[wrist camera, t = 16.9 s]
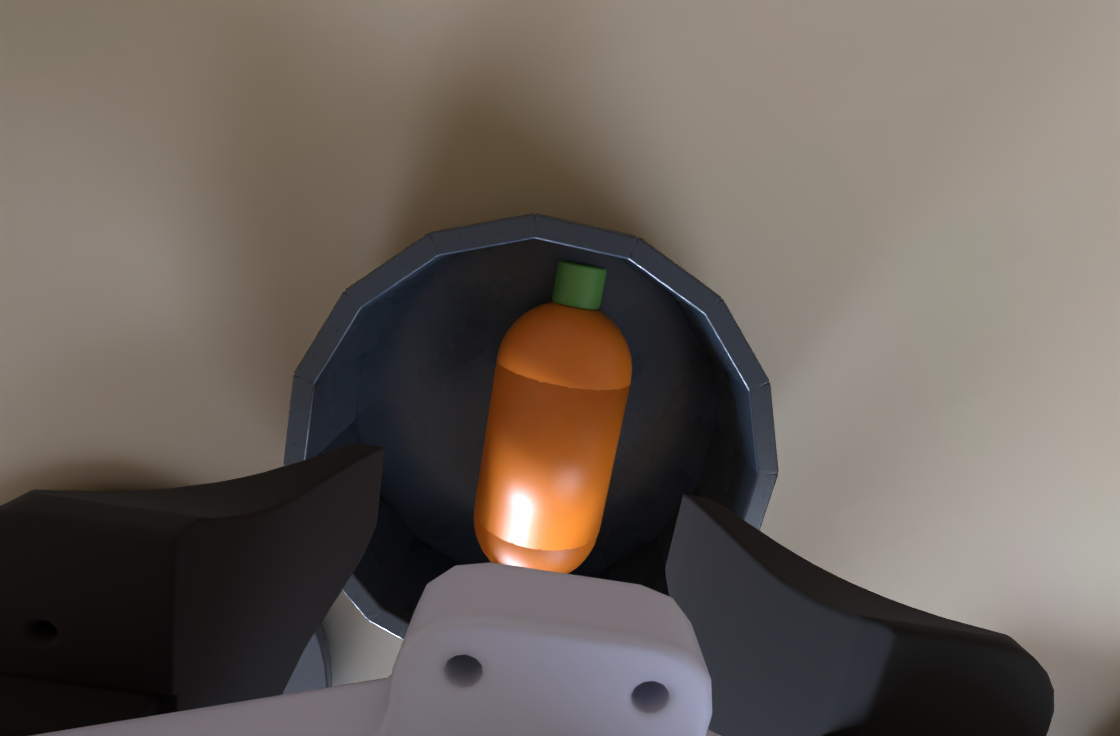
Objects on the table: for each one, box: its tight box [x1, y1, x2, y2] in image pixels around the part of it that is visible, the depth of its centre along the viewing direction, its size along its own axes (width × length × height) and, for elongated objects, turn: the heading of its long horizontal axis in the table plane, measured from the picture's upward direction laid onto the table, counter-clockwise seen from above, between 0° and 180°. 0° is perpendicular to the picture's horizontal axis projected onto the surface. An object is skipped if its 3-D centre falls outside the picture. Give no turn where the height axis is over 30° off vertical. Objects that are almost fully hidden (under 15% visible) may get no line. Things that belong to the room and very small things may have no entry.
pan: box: [284, 213, 778, 640], centre depth 17 cm, size 13×13×4 cm
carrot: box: [474, 260, 632, 574], centre depth 17 cm, size 10×4×4 cm, turn 170°
